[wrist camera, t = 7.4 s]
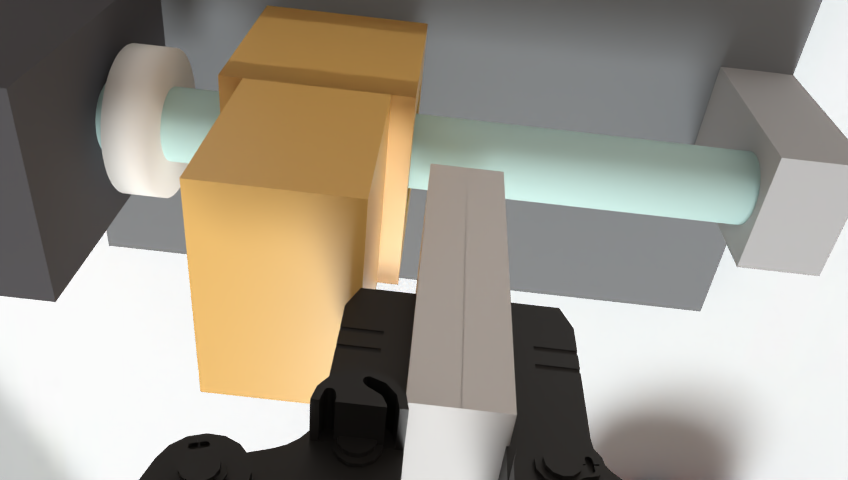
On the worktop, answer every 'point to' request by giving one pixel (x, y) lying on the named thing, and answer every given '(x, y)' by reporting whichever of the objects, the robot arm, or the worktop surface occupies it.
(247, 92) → the sleeve
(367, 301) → the robot arm
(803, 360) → the worktop surface
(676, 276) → the linear slide with carriage
